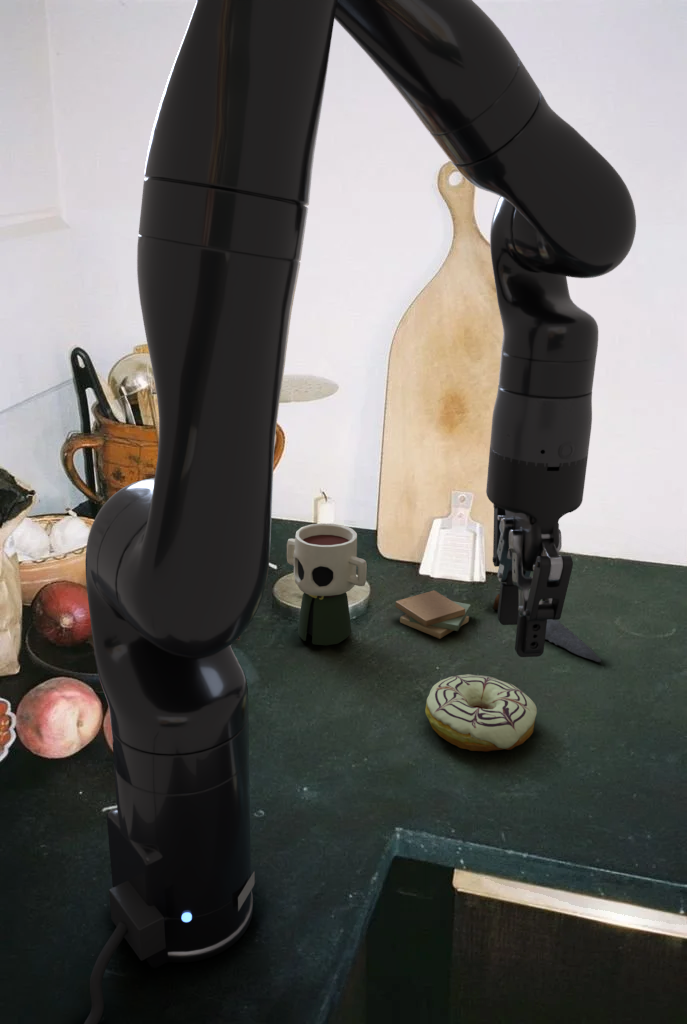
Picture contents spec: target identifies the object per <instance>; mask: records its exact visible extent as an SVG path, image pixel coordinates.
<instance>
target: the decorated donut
mask: <svg viewBox="0 0 687 1024" xmlns="http://www.w3.org/2000/svg"><path fill="white" fill-rule="evenodd" d="M537 711H538V710H537V706H536V703H535V702H534V701H533V700H532V699H531V698H530V697H529V696H528V695H527V694H526V693H525V692H523V690H521V689H519V688H518V687H517V686H515V685H514V684H513V683H511V682H507V681H505V680H501V679H498V678H496V677H492V676H487V675H481V674H469V673H467V674H458V675H452V676H449V677H447V678H443V679H441V680H439V681H438V682H436V683H435V684H434V685H433V686H432V687H431V689H430V691H429V693H428V696H427V698H426V704H425V710H424V712H425V716H426V718H427V719H428V722H429V725H430V726H431V729H432V730H433V731H434V732H435V733H436V734H437V735H438V736H439V737H440V738H442V739H444V741H446V742H448V743H450V744H452V745H453V746H455V747H457V748H459V749H462V750H468V751H470V752H491V751H502V750H507V751H509V750H510V751H511V750H513V749H514V748H515V747H519V746H521V745H523V744H524V743H525V742H526V741H527V740H529V738H530V737H531V736H532V735H533V733H534V728H535V723H536V716H537V713H538V712H537Z"/></svg>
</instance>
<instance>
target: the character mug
mask: <svg viewBox="0 0 687 1024" xmlns="http://www.w3.org/2000/svg"><path fill="white" fill-rule="evenodd" d="M357 555H358V534H357V532H356V531H355V530H354V529H353V528H351V527H348V526H347V525H344V524H337V523H333V522H332V523H329V522H328V523H326V522H324V523H323V522H319V523H312V524H308V525H304V526H302V527H300V528H299V529H298V530H296V532H295V537H294V538H288V540H287V542H286V562H287V564H288V565H291V566H292V567H293V578H294V583H295V584H296V585H297V587H298V588H299V590H300V591H301V592H302V596H301V597H302V598H301V603H300V610H299V617H298V627H297V630H298V631H297V633H298V634H297V635H298V637H299V638H300V639H301V640H302V641H305V642H307V634H308V635H310V636H311V637H312V639H311V644H312V645H316V646H318V645H319V646H331V645H338V644H339V643H341V642H343V641H344V640H346V639H347V638H348V637H349V636H350V635H351V633H352V623H351V614H350V606H349V597H348V594H347V592H348V593H349V591H351V590H352V589H353V588H354V587H355V586H358V587H365V585H366V582H367V573H368V571H367V570H368V569H367V568H368V567H367V566H368V564H367V561H366V560H365V559H364V558H360V557H358V556H357Z"/></svg>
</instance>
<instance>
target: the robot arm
mask: <svg viewBox="0 0 687 1024" xmlns="http://www.w3.org/2000/svg"><path fill="white" fill-rule="evenodd" d="M335 21H336V22H337V23H338V24H339V25H340V27H342V29H343V30H344V31H345V32H346V33H347V34H348V35H349V36H350V37H351V38H352V39H353V41H354V42H355V43H356V44H357V45H358V46H359V47H360V48H361V50H363V52H364V53H365V54H366V55H367V56H368V57H369V58H370V60H371V61H372V62H373V64H375V66H376V67H377V68H378V69H379V70H380V71H381V73H382V74H383V75H384V76H385V77H386V79H387V80H388V81H389V83H390V84H391V85H392V86H393V87H394V88H395V90H396V91H397V92H398V94H400V96H401V97H402V99H403V100H404V102H405V103H406V104H407V105H408V106H409V107H410V109H411V110H412V112H413V113H414V114H415V116H416V117H417V118H418V120H419V121H420V122H421V124H422V125H423V127H424V128H425V129H426V131H427V132H428V133H429V134H430V136H431V137H432V138H433V140H434V142H435V143H436V144H437V146H438V147H439V148H440V150H441V151H442V152H443V153H444V155H445V156H446V157H447V159H448V160H449V161H450V162H451V164H452V165H453V167H454V168H455V169H456V170H457V171H458V172H459V174H460V175H461V176H462V177H463V178H464V179H465V180H466V181H467V182H468V183H470V184H471V185H472V186H473V187H476V188H478V189H480V190H483V191H486V192H489V193H491V194H494V195H496V196H499V197H498V200H497V201H496V205H495V207H494V210H493V214H492V217H491V223H490V232H489V233H490V234H489V246H490V257H491V265H492V272H493V273H492V274H493V278H494V286H495V293H496V300H497V306H498V310H499V316H500V320H501V325H502V334H503V335H502V342H501V348H500V360H499V371H498V385H497V393H496V397H495V402H494V405H493V411H492V417H491V429H490V443H489V452H488V453H489V454H488V465H487V477H486V490H485V493H486V497H487V499H488V500H489V502H491V503H492V504H493V542H492V543H493V545H492V548H493V549H492V563H493V566H494V567H498V569H497V573H496V577H497V579H498V582H499V583H500V584H499V593H498V594H499V605H498V610H497V616H496V617H497V620H498V622H499V623H500V625H502V626H516V631H515V634H516V635H515V641H514V642H515V643H514V650H515V653H516V655H517V656H518V657H520V658H537V657H540V656H542V655H543V654H544V650H545V642H546V639H545V635H546V626H547V620H549V619H552V620H557V621H560V620H561V617H562V613H563V609H564V606H565V605H564V604H565V601H566V597H567V592H568V588H569V584H570V580H571V576H572V572H573V566H574V562H573V558H572V556H571V555H560V553H559V552H560V551H561V549H562V532H561V529H560V525H559V523H560V522H559V520H560V519H561V518H562V517H563V516H565V515H567V514H568V513H569V514H570V513H572V512H575V511H576V510H577V509H579V508H580V507H581V505H582V503H583V500H584V499H583V498H584V491H585V484H586V474H587V466H588V459H589V450H590V443H591V433H592V424H593V387H594V379H595V370H596V361H597V354H598V347H599V326H598V323H597V320H596V319H595V318H594V317H593V316H592V315H591V314H590V313H589V312H587V311H585V310H584V309H583V308H581V307H579V306H578V305H577V304H576V303H575V302H574V301H573V300H572V298H571V296H570V291H569V283H568V279H567V278H574V279H591V278H592V279H594V278H598V277H601V276H605V275H607V274H609V273H611V272H612V271H614V270H615V269H616V268H618V267H619V266H620V265H621V264H622V263H623V261H624V260H625V259H626V258H627V256H628V254H629V253H630V251H631V249H632V247H633V245H634V241H635V237H636V236H635V235H636V230H637V215H636V208H635V204H634V200H633V198H632V195H631V193H630V191H629V188H628V187H627V185H626V183H625V181H624V179H623V178H622V176H621V175H620V174H619V172H618V171H617V170H616V169H615V168H614V166H612V164H611V163H610V162H609V161H608V160H607V159H606V158H605V157H604V156H603V155H602V154H601V153H600V152H599V151H598V150H597V149H596V148H595V147H594V146H593V145H592V144H591V143H590V142H589V141H588V140H587V139H586V138H585V137H584V136H583V135H581V134H580V132H578V130H576V129H575V128H574V127H573V126H572V125H571V124H570V123H569V122H567V121H566V120H564V119H563V118H562V117H561V116H560V115H559V114H557V113H556V112H555V111H554V109H552V107H551V106H550V105H549V104H548V102H547V100H546V98H545V97H544V95H543V93H542V91H541V90H540V88H539V87H538V85H537V84H536V82H535V80H534V79H533V77H532V75H531V74H530V72H529V71H528V69H527V68H526V66H525V64H524V63H523V62H522V60H521V58H520V57H519V55H518V53H517V52H516V50H515V48H514V47H513V46H512V44H511V43H510V41H509V40H508V38H507V36H505V34H504V33H503V31H501V29H500V28H499V27H498V26H497V24H496V23H495V22H494V21H493V19H491V18H490V16H489V15H487V13H486V12H485V11H484V10H483V9H482V8H481V7H480V6H479V5H478V4H477V3H476V2H475V1H473V0H196V3H195V5H194V8H193V11H192V15H191V17H190V20H189V22H188V25H187V28H186V31H185V34H184V36H183V39H182V41H181V44H180V47H179V50H178V52H177V55H176V57H175V60H174V63H173V65H172V68H171V71H170V74H169V75H168V79H167V82H166V85H165V88H164V91H163V94H162V97H161V100H160V103H159V106H158V110H157V113H156V116H155V120H154V123H153V127H152V131H151V135H150V140H149V145H148V149H147V156H146V161H145V168H144V177H145V178H144V179H143V187H142V195H141V205H140V216H139V224H138V225H139V226H138V235H137V247H136V248H137V249H136V276H137V287H138V296H139V305H140V310H141V315H142V316H141V317H142V321H143V327H144V332H145V338H146V343H147V344H146V345H147V349H148V354H149V359H150V364H151V370H152V375H153V381H154V386H155V393H156V398H157V399H156V400H157V409H158V410H157V411H158V444H157V459H156V460H157V461H156V464H155V465H156V466H155V473H154V477H153V478H146V479H142V480H141V479H140V480H138V481H135V482H132V483H130V484H128V485H126V486H124V487H123V488H120V489H119V490H117V491H116V492H115V493H114V494H113V495H112V496H110V497H109V498H108V499H107V501H105V503H104V504H103V505H102V507H100V509H99V511H98V512H97V514H96V516H95V518H94V520H93V522H92V524H91V526H90V527H91V528H90V530H89V533H88V536H87V542H86V548H85V562H84V563H85V583H86V593H87V602H88V611H89V620H90V629H91V637H92V644H93V651H94V652H93V653H94V659H95V666H96V670H97V675H98V679H99V683H100V684H101V688H102V690H103V693H104V696H105V698H106V702H107V705H108V712H109V721H110V730H111V743H112V757H113V770H114V772H113V773H114V782H115V784H114V785H115V798H116V808H114V809H111V810H109V811H108V812H107V814H106V826H107V839H108V849H109V861H110V872H111V873H110V874H111V885H112V887H111V888H109V889H108V896H109V905H110V906H109V909H110V920H111V921H112V923H113V924H114V925H115V929H114V931H113V932H112V934H111V935H110V937H109V938H108V940H107V941H106V943H105V945H104V946H103V947H102V949H101V951H100V953H99V954H98V957H97V959H96V961H95V962H94V965H93V968H92V972H91V975H90V979H89V994H90V1001H91V1002H90V1003H91V1008H90V1013H89V1014H88V1016H87V1018H86V1019H85V1021H84V1023H83V1024H99V1023H100V1021H101V1019H102V1017H103V1014H104V1010H105V999H104V992H103V978H104V976H105V972H106V970H107V968H108V966H109V963H110V961H111V959H112V957H113V955H114V954H115V952H116V951H117V949H118V948H119V947H120V944H121V943H122V941H123V940H124V939H125V940H126V942H127V944H128V945H129V946H130V948H131V949H132V951H133V952H134V953H135V954H136V956H137V957H138V959H139V960H140V961H144V960H145V961H146V962H147V963H148V965H149V966H150V968H152V969H157V968H159V967H161V966H163V965H165V964H167V963H176V964H177V963H179V964H180V963H181V964H182V963H183V964H185V963H193V962H199V961H203V960H207V959H210V958H213V957H216V956H217V955H219V954H221V953H223V952H225V951H227V950H228V949H230V948H231V947H232V946H233V945H235V944H236V943H237V942H238V941H239V940H240V939H241V938H242V937H243V935H244V934H245V933H246V931H247V929H248V928H249V926H250V924H251V921H252V918H253V912H254V898H253V896H254V895H253V888H254V886H255V883H256V882H255V881H256V880H255V875H256V874H255V871H253V872H252V853H251V850H252V849H251V847H252V846H251V792H250V791H251V789H250V785H251V783H250V722H249V721H250V720H249V719H250V717H249V716H250V715H249V688H248V686H249V685H248V681H247V677H246V674H245V671H244V669H243V667H242V665H241V663H240V661H239V659H238V657H237V655H236V653H235V652H234V649H233V648H232V644H233V643H235V642H236V641H237V640H238V639H239V638H240V637H241V635H242V634H243V633H244V632H245V631H246V630H247V629H248V627H249V625H250V624H251V622H252V620H253V619H254V617H255V616H256V614H257V612H258V610H259V607H260V605H261V603H262V600H263V597H264V593H265V591H266V587H267V582H268V581H267V580H268V576H269V569H270V568H269V567H270V557H271V541H272V540H271V539H272V517H273V515H272V511H273V489H274V488H273V486H274V461H275V447H276V446H275V445H276V444H275V443H276V435H277V434H276V433H277V424H278V417H279V410H280V402H281V396H282V390H283V389H282V388H283V383H284V382H283V380H284V373H285V367H286V366H285V365H286V359H287V351H288V342H289V334H290V325H291V319H292V311H293V306H294V301H295V300H294V299H295V294H296V289H297V284H298V279H299V273H300V267H301V261H302V255H303V254H302V253H303V246H304V241H305V233H306V226H307V220H308V219H307V218H308V213H309V208H308V206H309V205H310V198H311V187H312V178H313V177H312V176H313V167H314V159H315V153H316V146H317V139H318V132H319V128H320V127H319V126H320V122H321V121H320V120H321V114H322V109H323V102H324V95H325V94H324V93H325V89H326V81H327V75H328V68H329V62H330V54H331V53H330V52H331V46H332V38H333V30H334V24H335ZM531 572H532V576H531Z"/></svg>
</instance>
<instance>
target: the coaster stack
mask: <svg viewBox="0 0 687 1024" xmlns="http://www.w3.org/2000/svg"><path fill="white" fill-rule="evenodd" d="M471 607H472V606H471V604H470V603H464V602H458V601H454V600H451V599H450V598H448V597H447V596H445V595H443V594H442V593H440V592H438V591H437V590H435V589H433V590H430V591H427V592H422V593H419V594H416V595H412V596H409V597H406V598H403V599H398V600H395V608H396V609H398V610H400V611H401V612H403V613H404V614H403V615H401V616H400V617H399V623H401V624H402V625H405V626H408V627H410V628H412V629H415V630H418V631H420V632H422V633H424V634H427V635H429V636H432V637H434V638H437V639H439V640H440V639H442V638H443V637H445V636H447V635H449V634H450V633H451V634H452V632H454V631H456V632H459V630H460V628H461V627H462V626H464V625H466V624H467V623H469V621H470V616H469V613H470V612H471Z"/></svg>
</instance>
